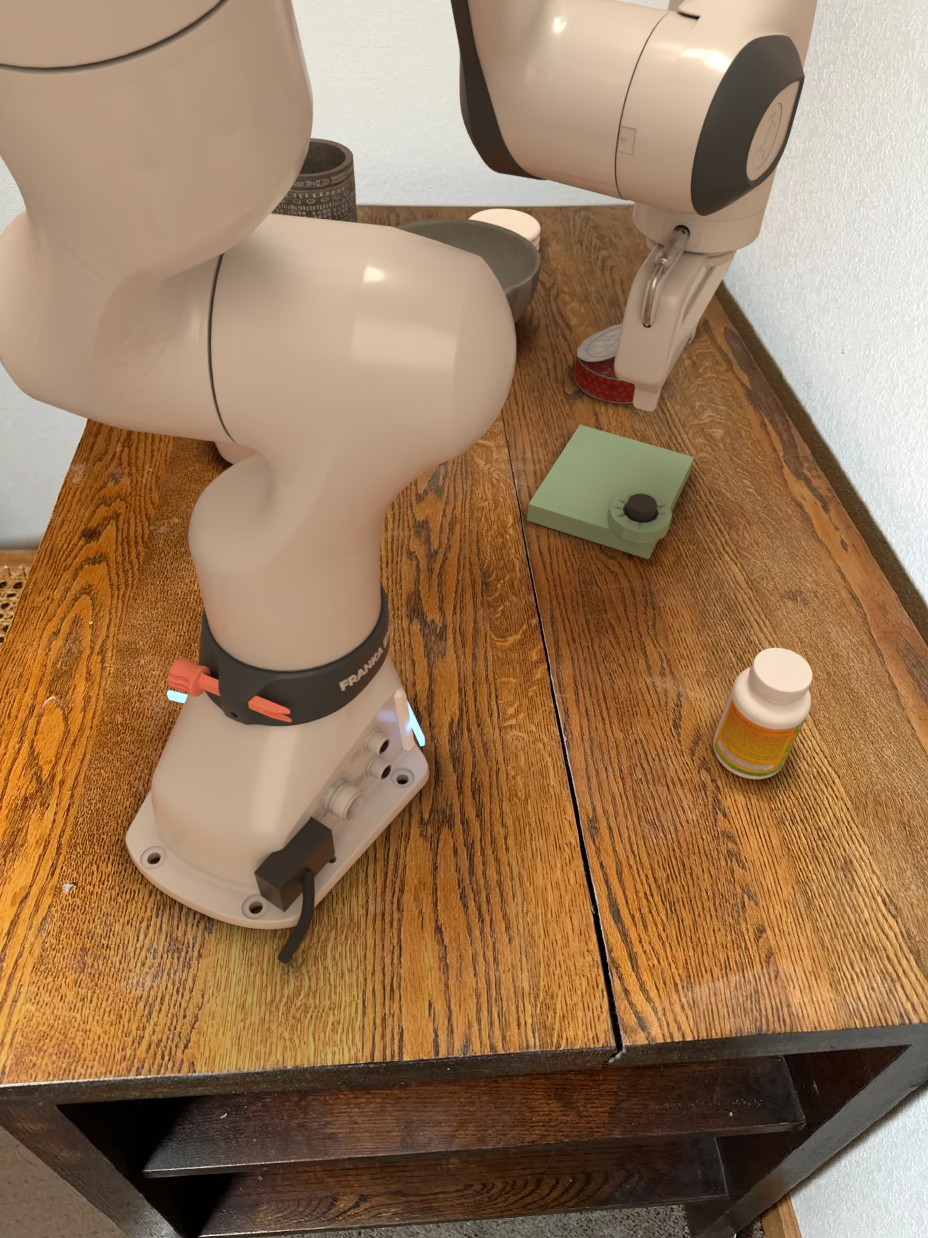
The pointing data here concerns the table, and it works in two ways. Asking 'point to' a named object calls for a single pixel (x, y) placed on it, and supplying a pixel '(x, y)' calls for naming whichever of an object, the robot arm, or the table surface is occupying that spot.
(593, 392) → the canned food
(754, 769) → the supplement bottle
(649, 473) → the scale
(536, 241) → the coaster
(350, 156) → the planter
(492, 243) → the bowl
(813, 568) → the table surface
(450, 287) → the robot arm
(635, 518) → the button
